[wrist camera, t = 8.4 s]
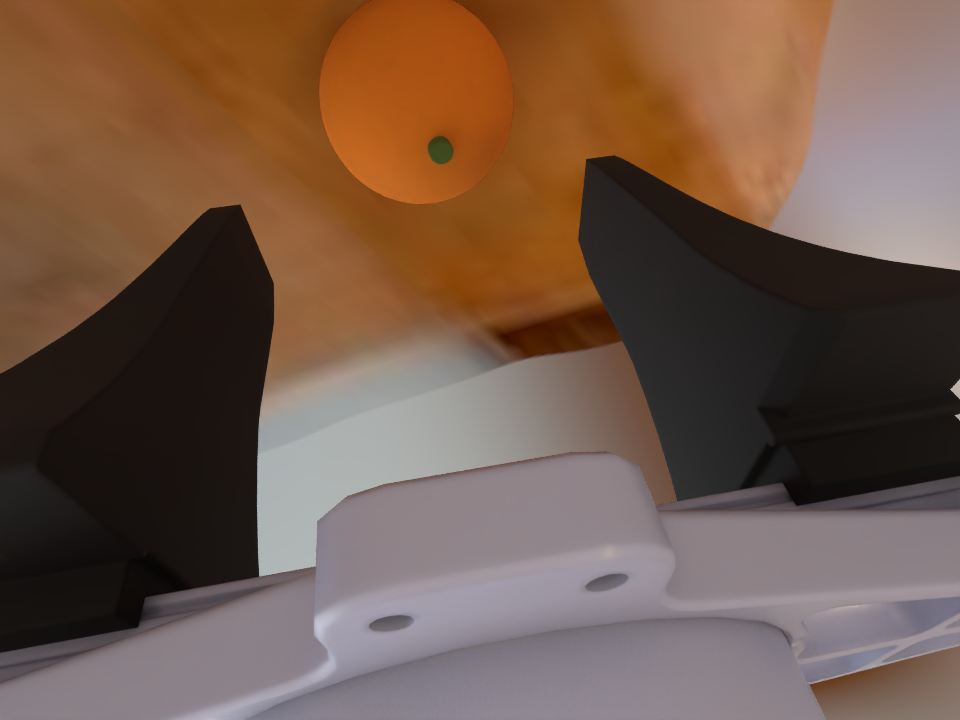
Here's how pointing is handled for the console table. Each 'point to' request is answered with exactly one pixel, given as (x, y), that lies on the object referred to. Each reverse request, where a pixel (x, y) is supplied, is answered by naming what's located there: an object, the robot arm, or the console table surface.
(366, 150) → the orange
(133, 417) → the robot arm
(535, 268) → the console table surface
